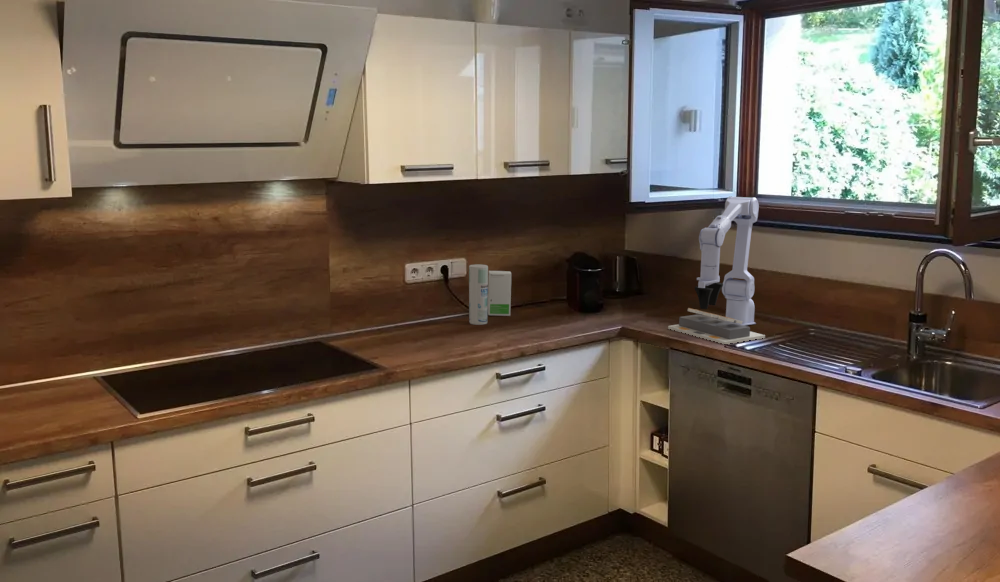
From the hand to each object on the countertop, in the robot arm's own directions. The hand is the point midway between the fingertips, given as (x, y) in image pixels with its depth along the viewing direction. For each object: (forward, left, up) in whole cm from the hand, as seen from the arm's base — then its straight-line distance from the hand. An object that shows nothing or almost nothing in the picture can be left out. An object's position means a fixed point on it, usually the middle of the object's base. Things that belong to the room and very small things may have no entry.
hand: (707, 306), depth 279 cm
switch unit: (-6, -2, -10) cm, 12 cm away
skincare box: (+40, -64, -10) cm, 76 cm away
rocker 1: (-5, -9, -4) cm, 11 cm away
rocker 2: (-5, -2, -4) cm, 7 cm away
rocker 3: (-5, +5, -4) cm, 8 cm away
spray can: (+54, -55, -10) cm, 78 cm away
